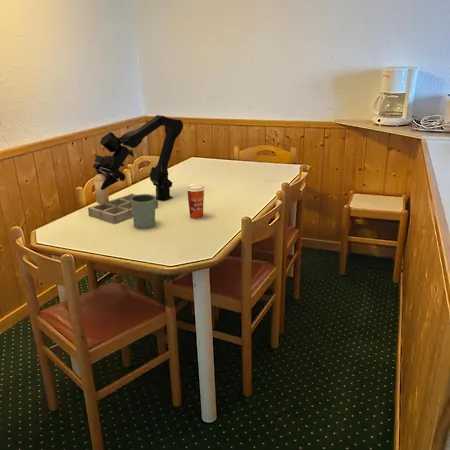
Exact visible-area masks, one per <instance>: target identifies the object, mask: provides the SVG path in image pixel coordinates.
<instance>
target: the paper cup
mask: <svg viewBox="0 0 450 450" xmlns="http://www.w3.org/2000/svg"><path fill="white" fill-rule="evenodd" d="M186 187H187V188H186V192H187V202H188V208H189V210H188V212H189V217H191V219H192V218H200V219H202V218H203V217H204V200H205V197H204V195H205V193H204V192H205V189H206V188H205V186H204V184H201V183H190V184H188V185H187V186H186ZM201 217H202V218H201Z"/></svg>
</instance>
